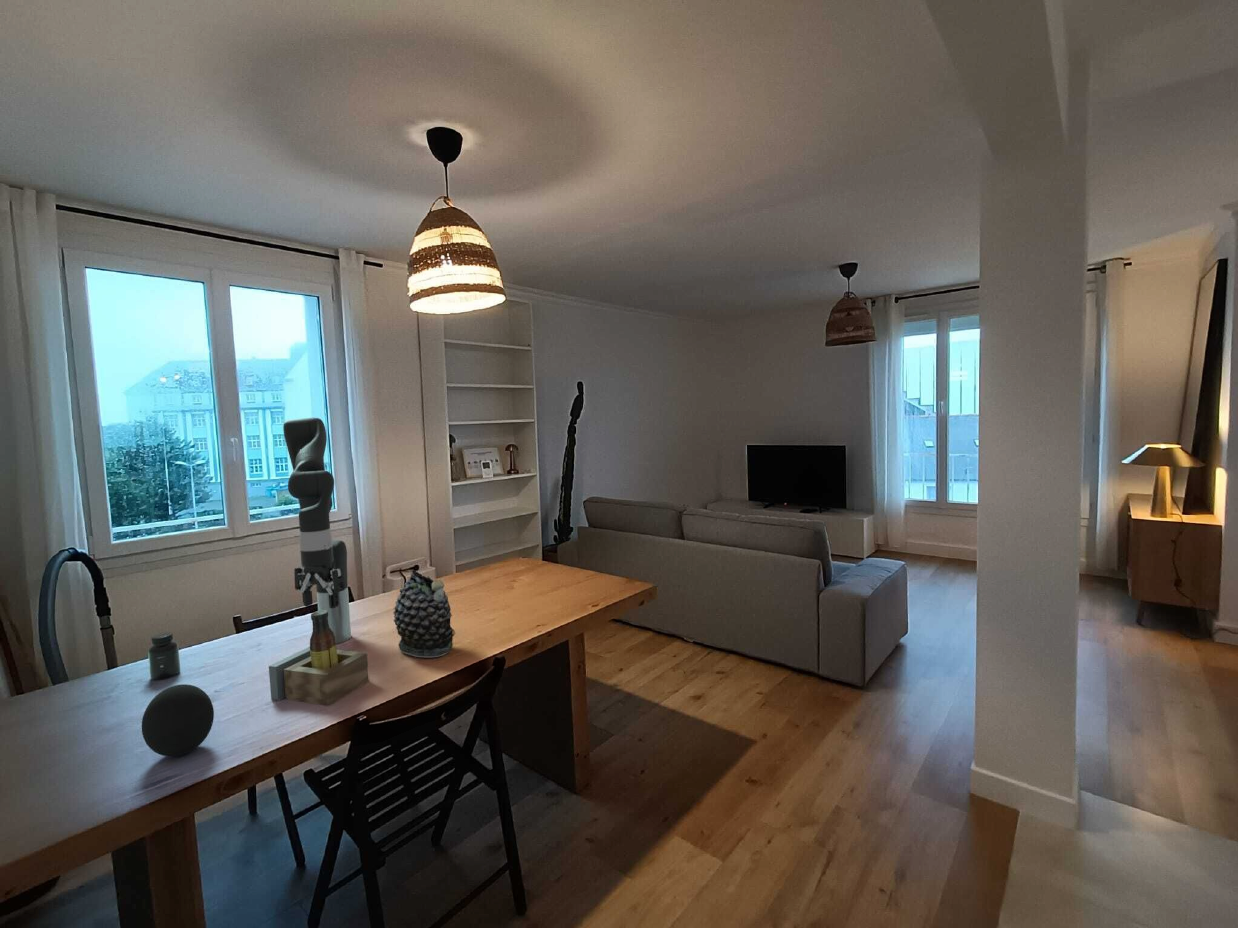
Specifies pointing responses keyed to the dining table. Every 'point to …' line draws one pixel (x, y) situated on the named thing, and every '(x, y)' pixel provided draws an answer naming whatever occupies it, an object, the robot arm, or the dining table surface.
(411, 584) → the scaly dragon egg
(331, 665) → the sauce bottle
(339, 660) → the open wooden box
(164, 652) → the supplement bottle
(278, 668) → the backstop
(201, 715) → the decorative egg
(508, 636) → the dining table surface
